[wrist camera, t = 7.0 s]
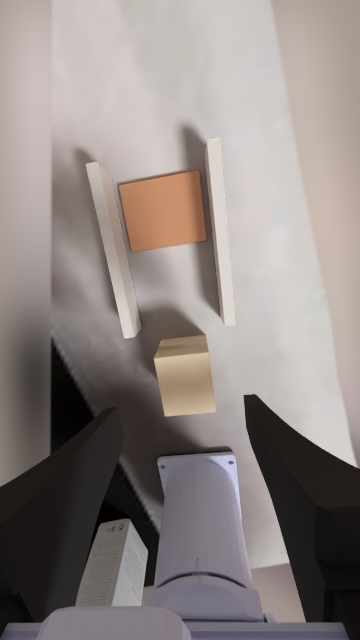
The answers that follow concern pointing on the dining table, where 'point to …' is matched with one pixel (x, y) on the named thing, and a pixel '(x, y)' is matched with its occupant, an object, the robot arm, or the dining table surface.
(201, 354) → the block
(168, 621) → the robot arm
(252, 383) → the dining table surface
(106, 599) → the skincare box
